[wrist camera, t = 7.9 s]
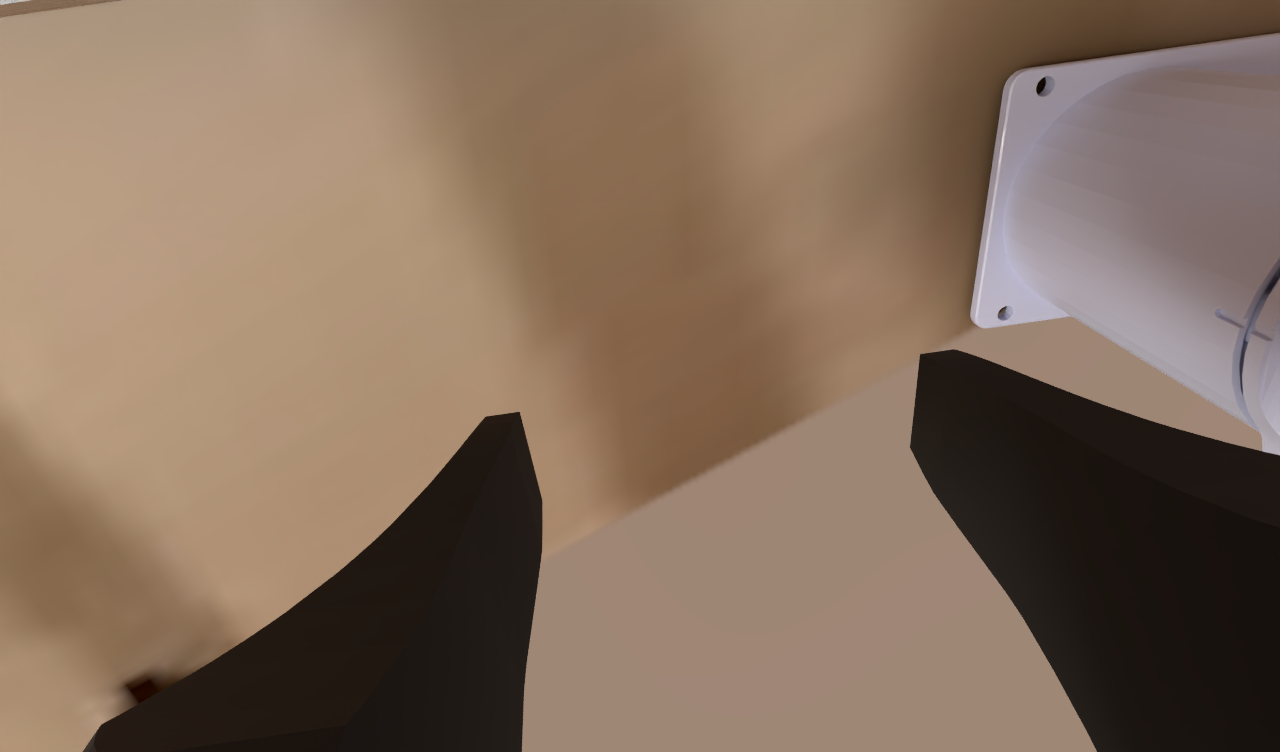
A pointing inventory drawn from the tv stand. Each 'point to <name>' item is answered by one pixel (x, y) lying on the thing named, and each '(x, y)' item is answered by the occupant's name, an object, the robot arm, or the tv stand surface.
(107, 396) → the tv stand surface
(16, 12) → the grey rectangular holder
